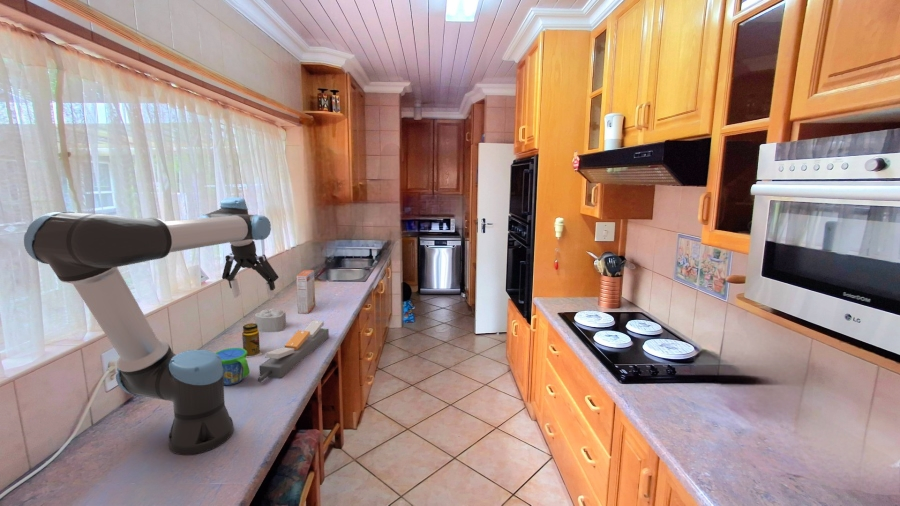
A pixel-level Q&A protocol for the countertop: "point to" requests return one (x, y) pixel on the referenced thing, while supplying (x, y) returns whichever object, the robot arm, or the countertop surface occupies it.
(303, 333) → the rocker
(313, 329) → the white flat slab
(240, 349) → the snack cup
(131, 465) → the countertop surface
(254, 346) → the condiment
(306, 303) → the cracker box
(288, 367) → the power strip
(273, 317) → the lumpy-topped squat cylinder
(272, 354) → the rocker
